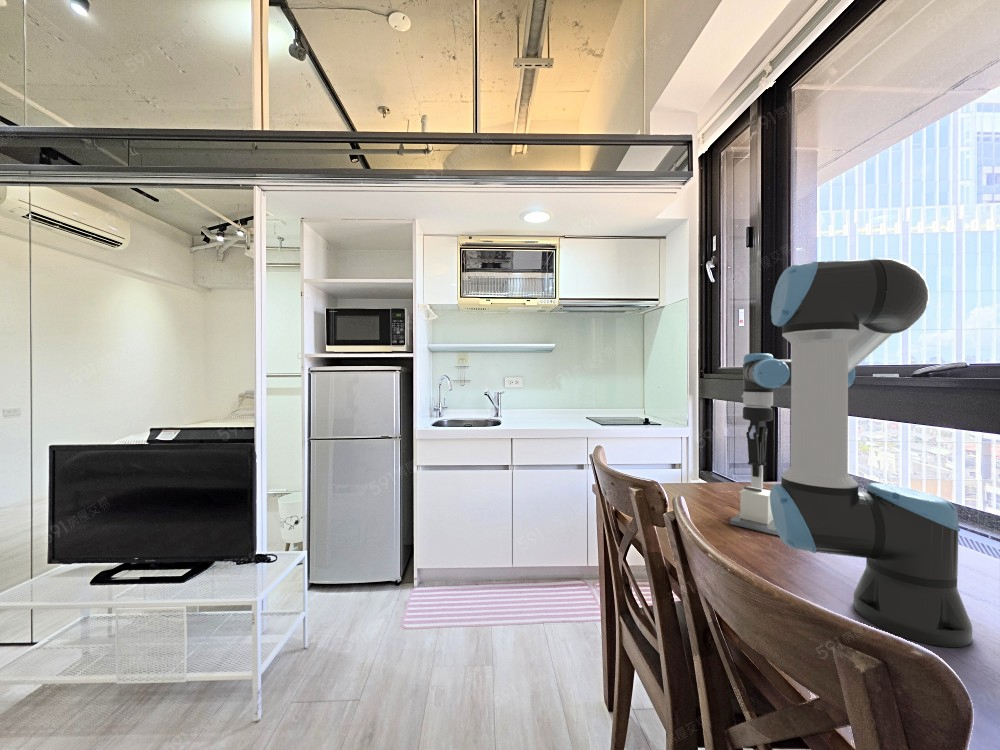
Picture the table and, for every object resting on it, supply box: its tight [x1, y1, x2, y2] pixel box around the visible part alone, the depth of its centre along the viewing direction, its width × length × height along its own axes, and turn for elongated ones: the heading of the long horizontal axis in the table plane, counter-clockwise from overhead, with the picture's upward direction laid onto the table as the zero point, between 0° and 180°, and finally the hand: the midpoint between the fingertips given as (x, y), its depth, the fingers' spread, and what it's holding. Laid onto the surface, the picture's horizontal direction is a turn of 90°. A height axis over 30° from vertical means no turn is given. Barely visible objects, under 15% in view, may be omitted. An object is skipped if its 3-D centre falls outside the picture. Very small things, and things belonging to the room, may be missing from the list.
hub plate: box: [729, 512, 780, 537], centre depth 123 cm, size 14×14×5 cm
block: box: [739, 486, 773, 525], centre depth 124 cm, size 8×7×9 cm
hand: (756, 487), depth 124 cm, fingers closed
